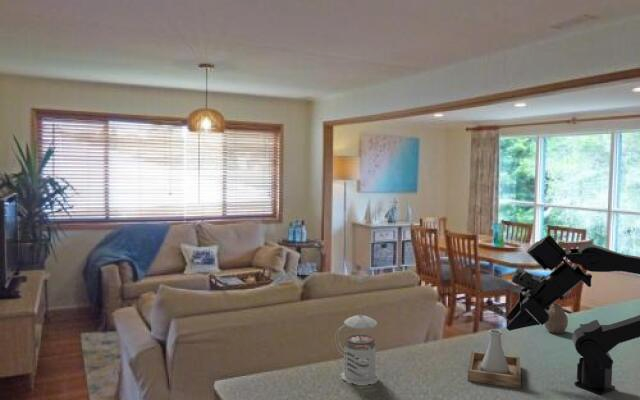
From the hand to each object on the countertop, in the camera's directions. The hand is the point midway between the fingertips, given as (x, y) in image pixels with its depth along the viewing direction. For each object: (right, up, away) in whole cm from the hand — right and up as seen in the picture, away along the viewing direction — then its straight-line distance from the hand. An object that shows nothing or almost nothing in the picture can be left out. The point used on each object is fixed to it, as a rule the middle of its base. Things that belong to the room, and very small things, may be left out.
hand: (507, 323), depth 127 cm
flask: (-3, -12, +2) cm, 13 cm away
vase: (+28, -11, +35) cm, 47 cm away
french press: (-38, -13, -1) cm, 40 cm away
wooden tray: (-3, -13, +2) cm, 13 cm away
